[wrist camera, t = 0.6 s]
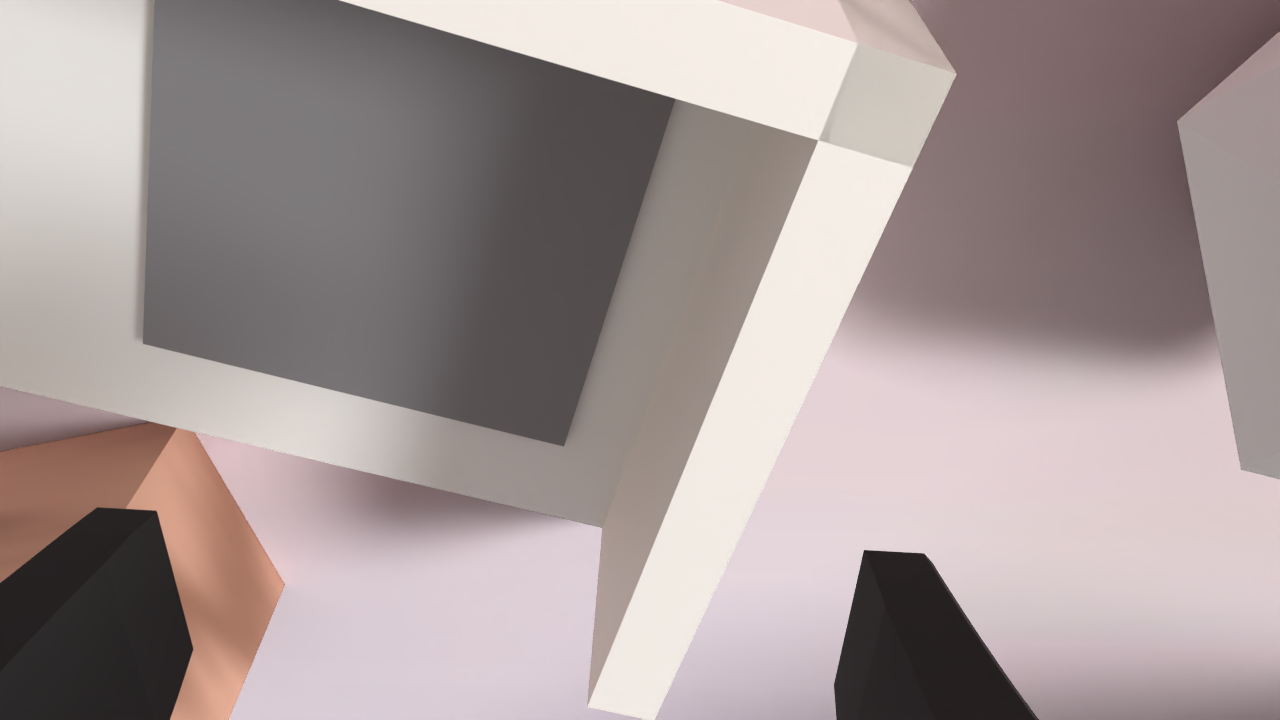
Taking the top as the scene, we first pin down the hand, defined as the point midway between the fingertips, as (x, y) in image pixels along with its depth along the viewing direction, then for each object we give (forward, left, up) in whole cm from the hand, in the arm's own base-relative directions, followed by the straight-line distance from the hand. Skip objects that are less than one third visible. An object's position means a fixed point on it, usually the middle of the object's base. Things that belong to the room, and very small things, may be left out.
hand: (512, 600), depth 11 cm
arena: (-1, +5, -10) cm, 11 cm away
